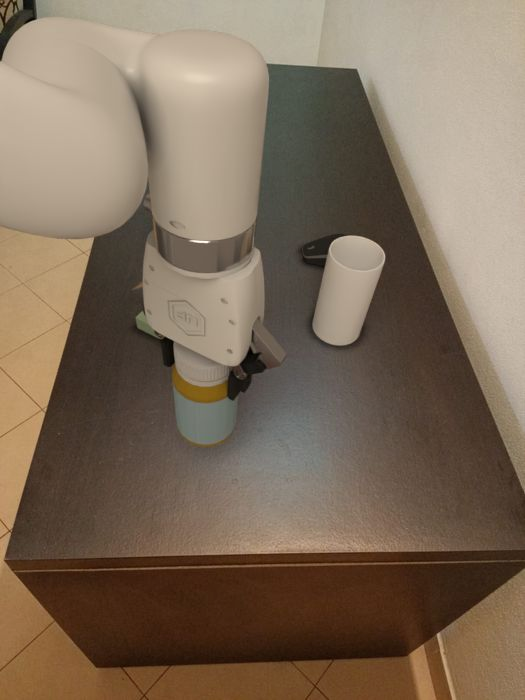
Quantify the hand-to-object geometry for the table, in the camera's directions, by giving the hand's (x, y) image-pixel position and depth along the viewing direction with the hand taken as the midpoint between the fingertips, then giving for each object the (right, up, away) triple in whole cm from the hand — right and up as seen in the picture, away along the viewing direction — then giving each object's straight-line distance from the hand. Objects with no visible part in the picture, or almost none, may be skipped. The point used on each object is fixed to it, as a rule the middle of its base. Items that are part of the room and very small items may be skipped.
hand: (206, 372), depth 48 cm
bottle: (-1, -7, +8) cm, 10 cm away
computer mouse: (+20, +21, +44) cm, 52 cm away
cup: (+18, +6, +32) cm, 37 cm away
